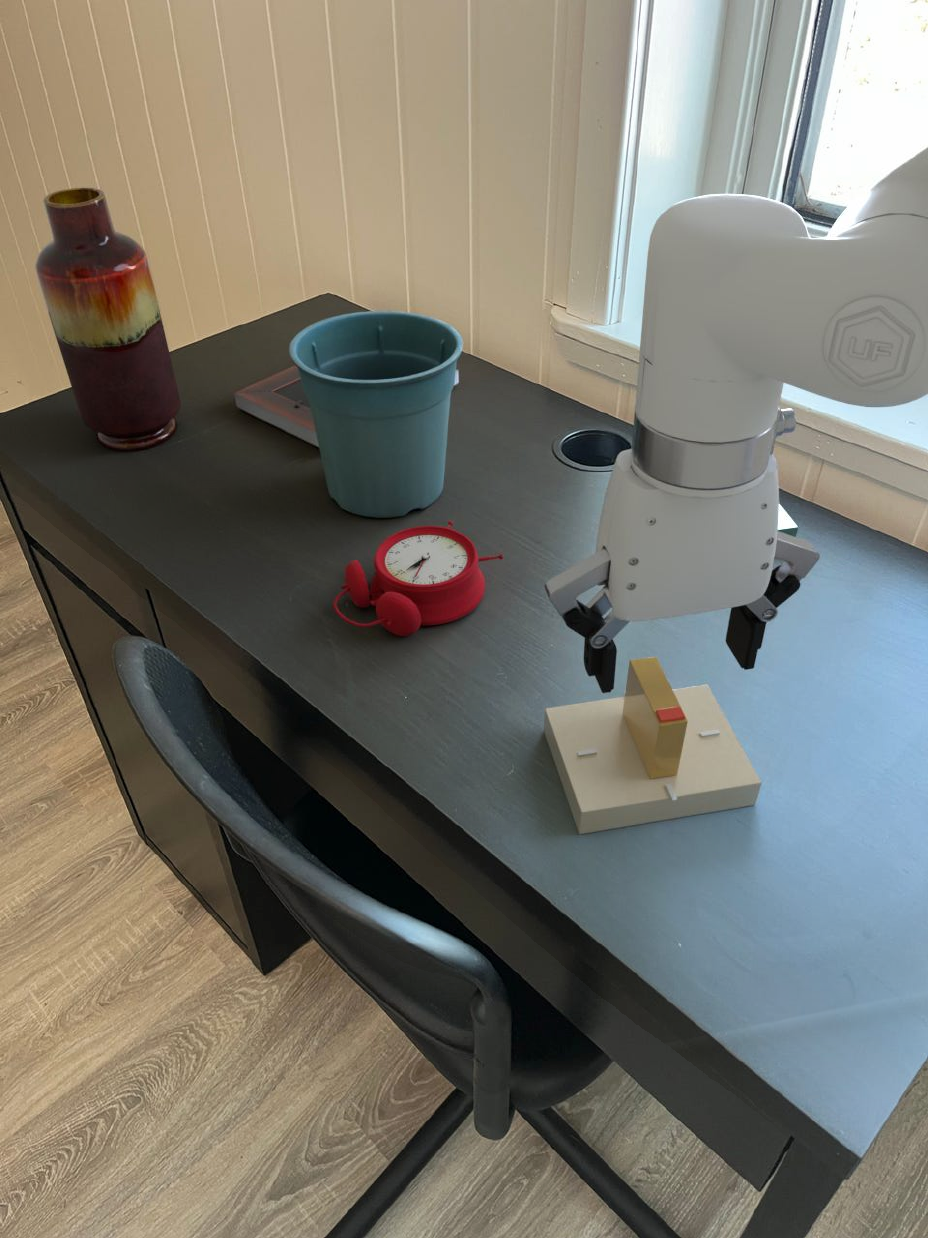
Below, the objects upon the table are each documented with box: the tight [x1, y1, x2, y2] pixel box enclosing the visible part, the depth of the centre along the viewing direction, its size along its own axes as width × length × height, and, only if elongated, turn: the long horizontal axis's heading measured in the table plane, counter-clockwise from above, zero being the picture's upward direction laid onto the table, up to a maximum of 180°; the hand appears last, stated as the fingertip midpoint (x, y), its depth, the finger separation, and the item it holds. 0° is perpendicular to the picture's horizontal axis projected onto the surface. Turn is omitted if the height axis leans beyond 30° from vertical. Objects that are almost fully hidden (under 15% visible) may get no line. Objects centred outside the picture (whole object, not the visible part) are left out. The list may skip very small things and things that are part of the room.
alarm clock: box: [333, 520, 504, 637], centre depth 84 cm, size 10×6×15 cm
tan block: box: [623, 656, 688, 779], centre depth 67 cm, size 6×2×6 cm, turn 10°
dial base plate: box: [543, 684, 762, 835], centre depth 69 cm, size 13×11×3 cm
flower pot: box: [288, 310, 464, 519], centre depth 95 cm, size 16×16×16 cm
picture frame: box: [233, 364, 460, 448], centre depth 114 cm, size 16×2×22 cm
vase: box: [34, 187, 181, 452], centre depth 101 cm, size 11×11×26 cm
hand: (670, 667), depth 63 cm, fingers open, 9 cm apart
